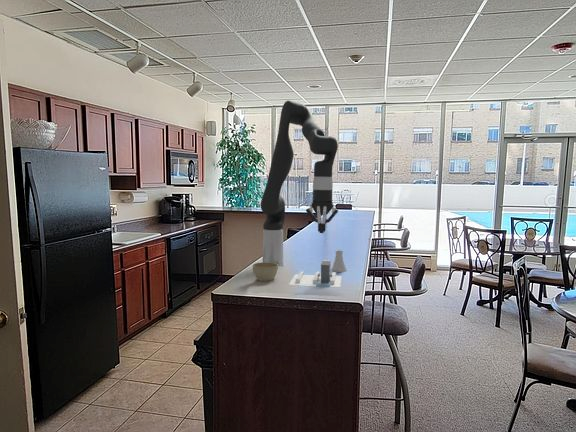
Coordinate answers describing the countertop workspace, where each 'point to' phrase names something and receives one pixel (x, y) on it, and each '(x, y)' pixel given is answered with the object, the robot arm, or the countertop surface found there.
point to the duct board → (315, 280)
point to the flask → (339, 262)
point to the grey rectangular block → (325, 271)
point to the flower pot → (265, 271)
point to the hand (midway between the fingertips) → (321, 232)
